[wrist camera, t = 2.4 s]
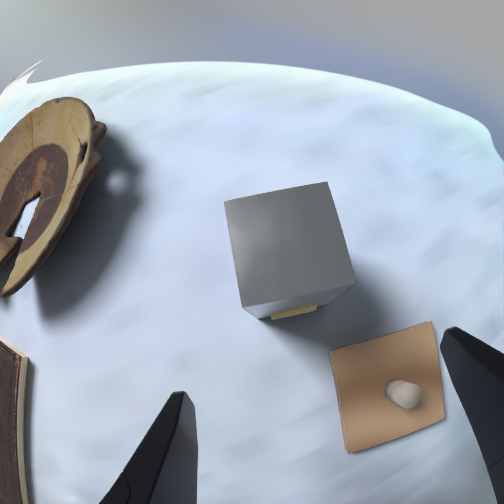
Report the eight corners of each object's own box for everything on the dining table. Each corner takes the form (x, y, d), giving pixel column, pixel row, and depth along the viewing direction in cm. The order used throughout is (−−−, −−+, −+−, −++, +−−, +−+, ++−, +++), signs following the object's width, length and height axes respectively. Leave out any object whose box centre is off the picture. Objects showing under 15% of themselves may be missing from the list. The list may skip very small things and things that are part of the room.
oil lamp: (86, 334, 22) (23, 327, 15) (-46, 266, 26) (-82, 251, 19) (157, 115, 28) (130, 63, 20) (6, 131, 32) (-22, 106, 25)
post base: (437, 415, 18) (464, 426, 14) (345, 448, 18) (357, 470, 14) (425, 322, 20) (452, 318, 16) (328, 350, 20) (340, 353, 16)
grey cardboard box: (326, 308, 21) (357, 290, 12) (258, 323, 21) (243, 314, 12) (309, 236, 23) (325, 176, 14) (244, 249, 23) (223, 195, 14)
